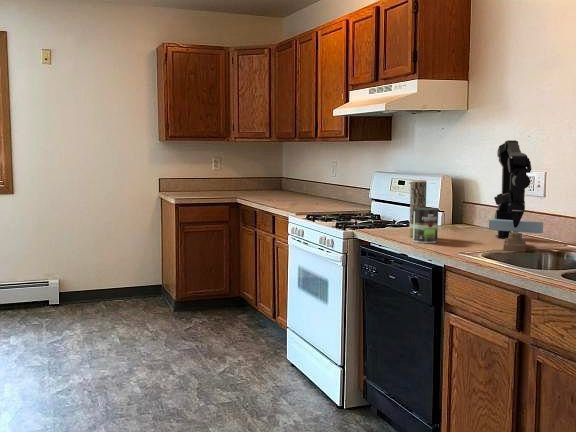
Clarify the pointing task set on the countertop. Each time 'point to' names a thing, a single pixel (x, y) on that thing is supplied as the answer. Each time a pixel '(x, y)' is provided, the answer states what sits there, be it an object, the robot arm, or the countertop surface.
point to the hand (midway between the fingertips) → (515, 226)
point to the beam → (522, 226)
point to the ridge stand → (515, 242)
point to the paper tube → (416, 199)
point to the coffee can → (425, 225)
